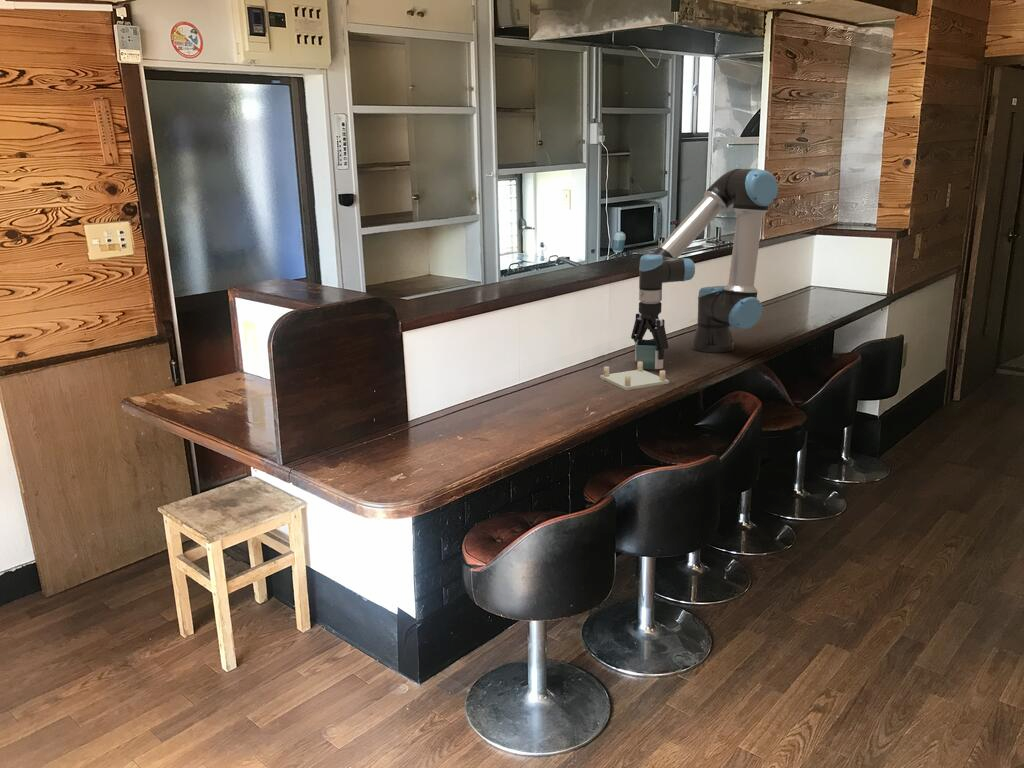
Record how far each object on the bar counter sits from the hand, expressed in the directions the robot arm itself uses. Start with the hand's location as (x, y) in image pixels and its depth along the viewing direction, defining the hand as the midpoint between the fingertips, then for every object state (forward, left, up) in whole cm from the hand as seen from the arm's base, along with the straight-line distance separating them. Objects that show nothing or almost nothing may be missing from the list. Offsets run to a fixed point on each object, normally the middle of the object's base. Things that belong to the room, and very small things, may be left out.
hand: (648, 364), depth 286 cm
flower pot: (0, 0, -1) cm, 1 cm away
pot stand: (+13, +11, -1) cm, 17 cm away
